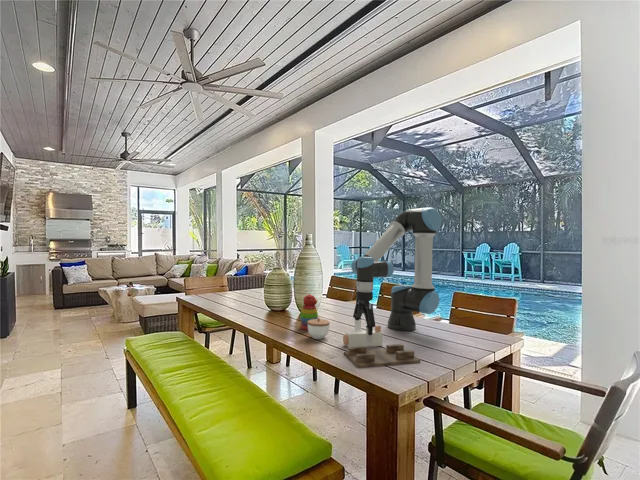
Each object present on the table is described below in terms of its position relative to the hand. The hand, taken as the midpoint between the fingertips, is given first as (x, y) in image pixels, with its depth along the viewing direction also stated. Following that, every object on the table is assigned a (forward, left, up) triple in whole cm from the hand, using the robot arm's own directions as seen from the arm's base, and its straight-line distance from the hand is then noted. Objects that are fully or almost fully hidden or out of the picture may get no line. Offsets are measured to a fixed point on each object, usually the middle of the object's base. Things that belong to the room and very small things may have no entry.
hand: (363, 338), depth 158 cm
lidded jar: (+17, -16, -3) cm, 23 cm away
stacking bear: (+17, -34, -4) cm, 38 cm away
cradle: (0, +18, -3) cm, 18 cm away
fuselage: (0, 0, -3) cm, 3 cm away
